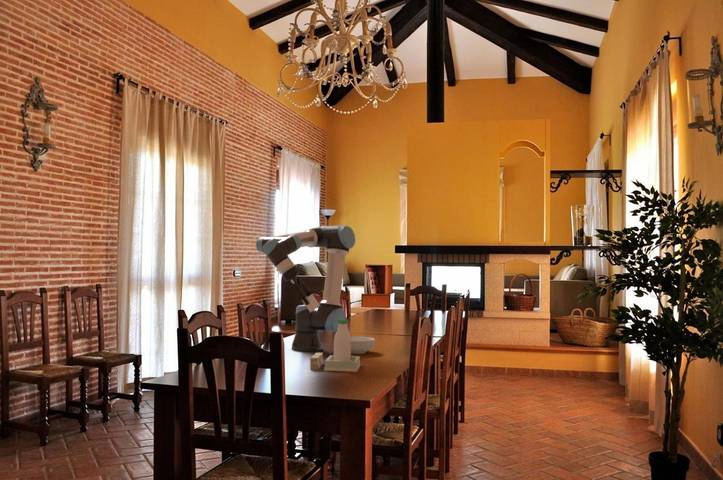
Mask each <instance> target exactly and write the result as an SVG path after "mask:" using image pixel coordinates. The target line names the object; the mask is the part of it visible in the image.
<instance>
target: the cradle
mask: <svg viewBox="0 0 723 480" xmlns="http://www.w3.org/2000/svg"><path fill="white" fill-rule="evenodd" d="M360 359H361V358H360V356H359V355H358V356H357V355H351V361H334V354H333V355H331V354H330V355H329V356H328V357H327V358H326V359H325V360H324V368H323V371H327V372H328V371H333V372H334V371H335V372H355V373H357V372H358V370H359V369H360V367H361V361H360Z"/></svg>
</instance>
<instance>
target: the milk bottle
mask: <svg viewBox="0 0 723 480" xmlns="http://www.w3.org/2000/svg"><path fill="white" fill-rule="evenodd" d="M351 337H352V335H351V333H350V329H349V319H346V318H345V319H339V320H338V330H337V331H336V333H335V334H334V338H333V341H334V342H333V355H334V361H351V356H352V353H351V349H352V342H351Z"/></svg>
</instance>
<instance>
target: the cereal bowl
mask: <svg viewBox="0 0 723 480" xmlns="http://www.w3.org/2000/svg"><path fill="white" fill-rule="evenodd" d="M375 341H376V340H375V338H373V337H367V336H351V342H352V349H351V354H355V355H358V354H359V355H362V354H367V352H369V351H371V350H372V349H373V348H374V347H375V344H376V343H375Z"/></svg>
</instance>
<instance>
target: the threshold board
mask: <svg viewBox="0 0 723 480" xmlns="http://www.w3.org/2000/svg"><path fill="white" fill-rule="evenodd" d="M322 365H324V352H315V354H313V355H312V356H311V357H310V369H309V370H310V371H318V370H319V369H320V368H321V366H322Z"/></svg>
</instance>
